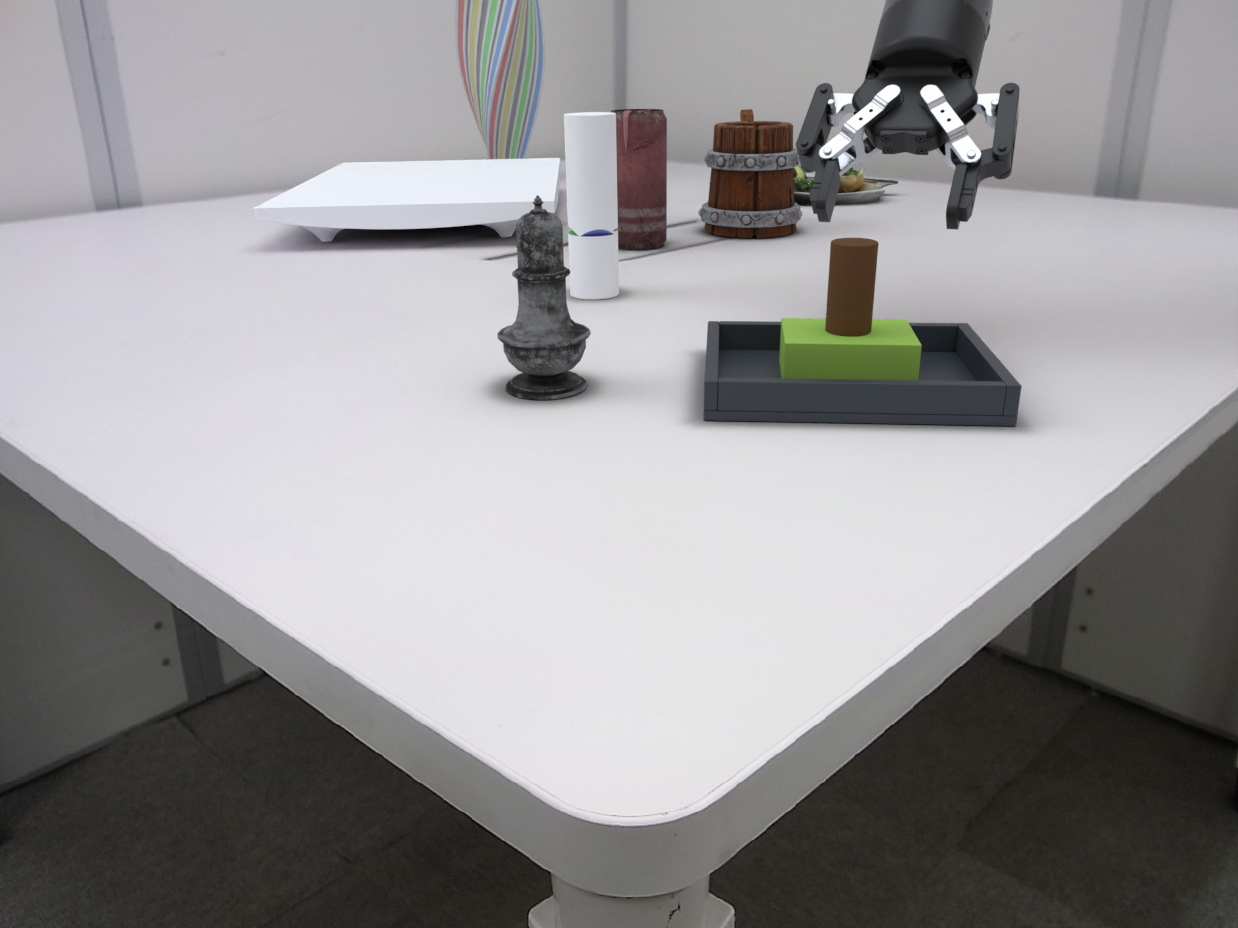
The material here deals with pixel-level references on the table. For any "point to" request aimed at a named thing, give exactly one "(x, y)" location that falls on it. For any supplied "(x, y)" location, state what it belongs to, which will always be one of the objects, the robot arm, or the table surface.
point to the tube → (592, 204)
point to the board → (417, 195)
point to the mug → (751, 179)
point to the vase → (501, 70)
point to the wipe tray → (858, 382)
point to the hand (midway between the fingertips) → (885, 218)
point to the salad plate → (842, 187)
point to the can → (641, 178)
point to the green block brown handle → (849, 327)
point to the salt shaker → (543, 314)
